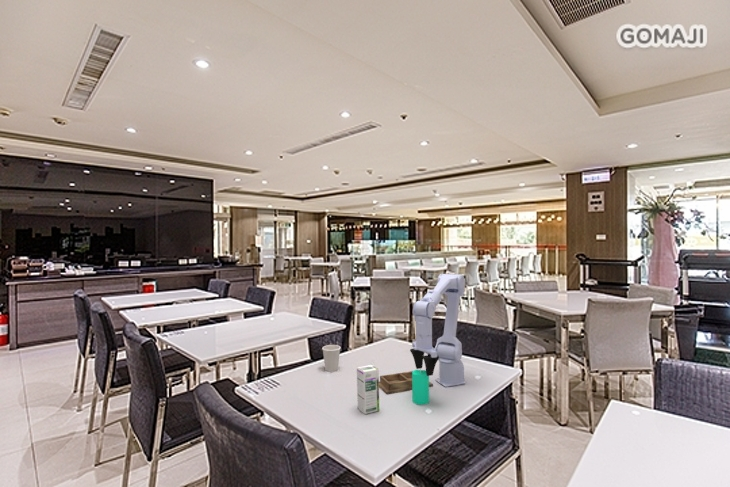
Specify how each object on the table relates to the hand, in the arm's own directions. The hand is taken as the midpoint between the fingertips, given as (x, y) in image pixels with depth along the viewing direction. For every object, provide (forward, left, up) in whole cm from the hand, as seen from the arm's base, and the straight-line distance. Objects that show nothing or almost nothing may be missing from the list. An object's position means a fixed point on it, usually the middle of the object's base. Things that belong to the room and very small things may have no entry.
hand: (424, 371), depth 134 cm
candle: (+1, 0, -11) cm, 11 cm away
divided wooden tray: (0, -15, -10) cm, 18 cm away
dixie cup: (+22, -44, -11) cm, 51 cm away
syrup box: (+21, -1, -11) cm, 24 cm away
